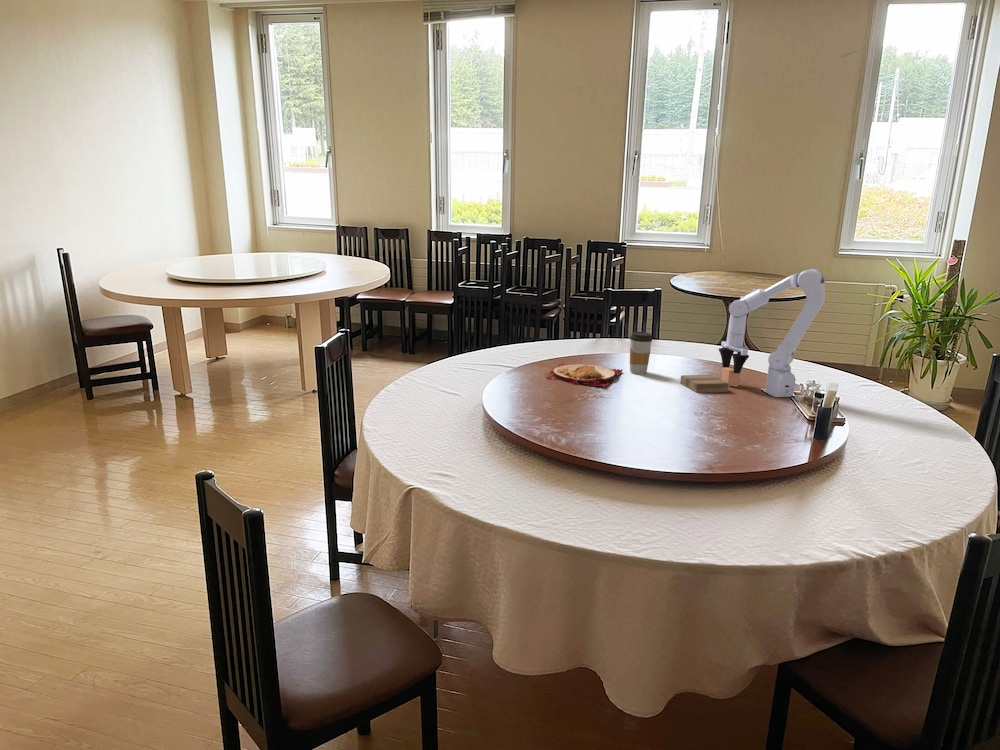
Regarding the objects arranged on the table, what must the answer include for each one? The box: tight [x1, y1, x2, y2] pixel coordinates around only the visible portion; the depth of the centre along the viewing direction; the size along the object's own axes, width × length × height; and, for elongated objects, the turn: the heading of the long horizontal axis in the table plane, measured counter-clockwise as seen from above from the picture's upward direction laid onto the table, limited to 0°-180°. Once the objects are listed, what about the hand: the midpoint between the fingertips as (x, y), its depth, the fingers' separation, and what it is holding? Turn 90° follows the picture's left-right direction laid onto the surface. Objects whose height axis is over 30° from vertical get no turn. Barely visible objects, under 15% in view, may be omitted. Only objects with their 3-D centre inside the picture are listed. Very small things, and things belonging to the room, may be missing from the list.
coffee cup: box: [629, 331, 653, 375], centre depth 267 cm, size 8×8×15 cm
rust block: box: [720, 366, 741, 387], centre depth 256 cm, size 4×4×6 cm
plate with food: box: [545, 363, 623, 388], centre depth 260 cm, size 25×26×4 cm
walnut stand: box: [680, 374, 729, 393], centre depth 251 cm, size 12×12×3 cm
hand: (731, 370), depth 255 cm, fingers open, 7 cm apart
